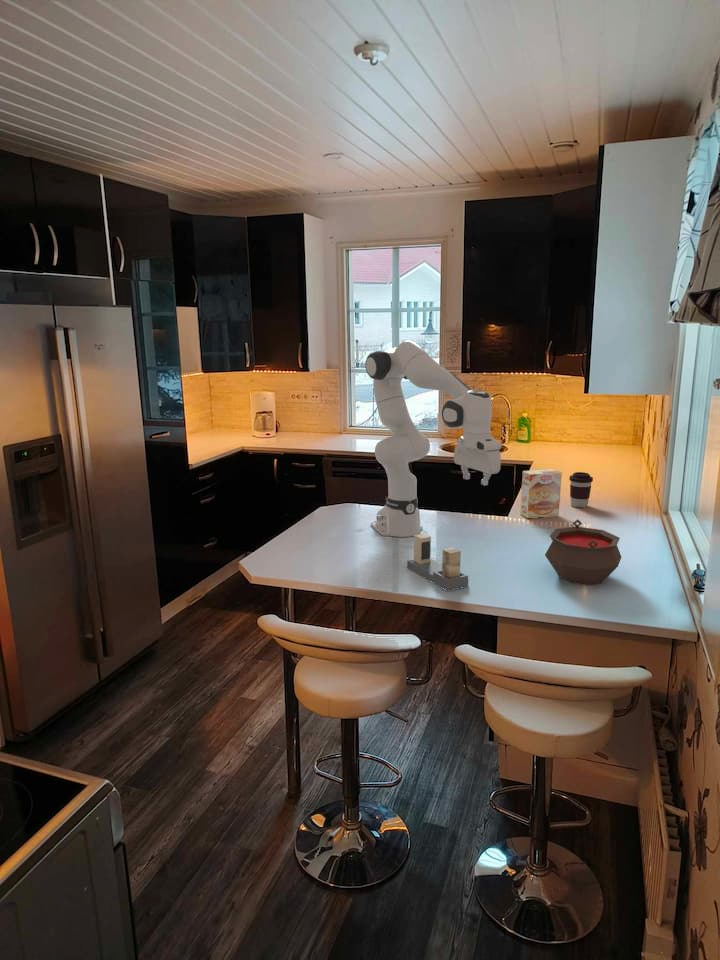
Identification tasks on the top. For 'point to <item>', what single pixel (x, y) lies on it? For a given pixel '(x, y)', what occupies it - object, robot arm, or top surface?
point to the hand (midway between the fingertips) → (475, 481)
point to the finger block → (451, 563)
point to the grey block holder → (432, 565)
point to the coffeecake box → (540, 493)
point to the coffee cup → (580, 489)
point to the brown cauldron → (583, 554)
